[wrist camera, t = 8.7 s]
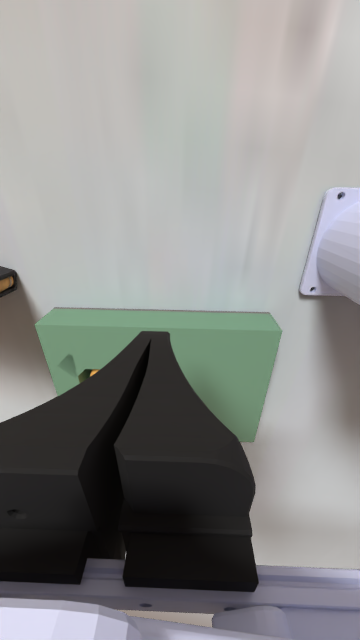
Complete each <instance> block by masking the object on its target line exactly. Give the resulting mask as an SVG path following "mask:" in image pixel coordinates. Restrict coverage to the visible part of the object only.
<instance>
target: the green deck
mask: <svg viewBox="0 0 360 640" xmlns="http://www.w3.org/2000/svg"><path fill="white" fill-rule="evenodd" d="M35 328H36V331H37V334H38V337H39V340H40V343H41V346H42V349H43V352H44V355H45V358H46V361H47V364H48V367H49V371H50V374H51V377H52V380H53V383H54V386H55V389H56V392H57V395H58V396H59V395H61V394H63V393H65V392H66V391H68V390H70V389H71V388H73V387H75V386H76V385H78V384H80V383H81V382H83V381H85V380H86V379H88V378H89V377H90V374H91V371H92V369H101V368H103V367H104V366H105V365H106V364H108V363H109V362H110V361H111V360H112V359H113V358H115V357H116V356H117V355H118V354H119V353H120V352H121V351H122V350H123V349H124V348H125V347H126V346H127V345H128V344H129V343H130V342H131V341H132V340H133V339H134V338H135V337H136V336H137V335H138V334H139V333H140V332H141V331H166V332H169V333H170V342H171V346H172V349H173V352H174V355H175V357H176V360H177V362H178V364H179V366H180V368H181V370H182V372H183V374H184V376H185V377H186V379H187V381H188V382H189V384H190V385H191V387H192V388H193V390H194V391H195V392H196V394H197V395H198V396H199V397H200V399H201V400H202V401H203V402H204V404H205V405H206V406H207V407H208V409H209V410H210V411H211V412H212V413H213V414H214V415H215V416H216V417H217V418H218V419H219V420H220V421H221V422H222V423H223V424H224V425H225V426H226V427H227V428H228V429H229V430H230V431H231V432H232V433H233V434H235V435H236V436H237V438H238V440H239V442H254V440H255V436H256V432H257V428H258V424H259V420H260V416H261V412H262V408H263V404H264V400H265V397H266V393H267V389H268V385H269V381H270V377H271V373H272V369H273V365H274V361H275V357H276V353H277V349H278V346H279V342H280V338H281V334H282V330H281V328H280V327H279V326H278V324H277V323H276V321H275V320H274V318H273V317H272V315H271V314H270V313H269V312H227V311H184V310H142V309H99V308H57V307H55V308H54V309H53V310H51V311H50V312H49V313H48V314H47V315H45V316H44V317H43V318H42V319H41V320H39V321H38V322H37V323H36V324H35Z"/></svg>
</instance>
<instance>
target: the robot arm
mask: <svg viewBox="0 0 360 640" xmlns="http://www.w3.org/2000/svg"><path fill="white" fill-rule="evenodd" d="M340 192H341V193H342V197H341V198H340V199H339V200H338V198H337V196H338V194H339V193H340ZM312 287H314V289H313V290H312V291H310V289H311V288H312ZM299 291H300V292H301V293H302V294H303V295H323V296H346V297H347V298H349V299H351V300H352V301H354V302H355V303H357V304H358V305H360V188H331V189H329V190H328V191H327V192H326V193H325V195H324V199H323V202H322V206H321V210H320V214H319V217H318V221H317V225H316V229H315V232H314V236H313V240H312V243H311V247H310V251H309V255H308V258H307V262H306V266H305V270H304V273H303V277H302V281H301V284H300V288H299ZM255 486H256V485H255V481H254V477H253V474H252V471H251V468H250V465H249V462H248V460H247V457H246V455H245V452H244V450H243V448H242V446H241V444H240V442H239V440H238V438H237V436H236V435H235V434H233V433H232V432H231V431H230V430H229V429H228V428H227V427H226V426H225V425H224V424H223V423H222V422H221V421H220V420H219V419H218V418H217V417H216V416H215V415H214V414H213V413H212V412H211V411H210V410H209V409H208V407H207V406H206V405H205V404H204V402H203V401H202V400H201V399H200V397H199V396H198V395H197V394H196V392H195V391H194V390H193V388H192V387H191V385H190V384H189V382H188V381H187V379H186V377H185V376H184V374H183V372H182V370H181V368H180V366H179V364H178V362H177V360H176V357H175V355H174V352H173V349H172V346H171V342H170V333H169V332H166V331H141V332H140V333H139V334H138V335H137V336H136V337H135V338H134V339H133V340H132V341H131V342H130V343H129V344H128V345H127V346H126V347H125V348H124V349H123V350H122V351H121V352H120V353H119V354H118V355H117V356H116V357H115V358H113V359H112V360H111V361H110V362H109V363H108V364H106V365H105V366H104V367H103V368H101V369H100V370H99V371H97V372H96V373H95V374H93V375H92V376H90V377H89V378H88V379H86V380H85V381H83V382H81V383H80V384H78V385H76V386H75V387H73V388H71V389H70V390H68V391H66V392H65V393H63V394H61V395H59V396H58V397H56V398H54V399H52V400H50V401H48V402H46V403H44V404H42V405H40V406H38V407H36V408H34V409H32V410H29V411H27V412H25V413H23V414H20V415H18V416H16V417H13V418H11V419H8V420H6V421H4V422H1V423H0V640H360V570H359V569H335V568H311V567H287V566H263V565H256V564H255V559H254V553H253V548H252V543H251V537H252V528H251V523H250V517H249V511H250V508H251V505H252V502H253V498H254V495H255ZM125 554H126V559H125ZM114 609H117V610H114ZM118 610H139V611H162V612H163V611H164V612H183V613H205V614H214V616H213V618H212V628H211V627H205V626H197V625H191V624H184V623H177V622H169V621H162V620H155V619H149V618H141V617H133V616H128V615H127V614H125V613H124V612H121V611H118Z"/></svg>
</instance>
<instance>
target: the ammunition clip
mask: <svg viewBox="0 0 360 640" xmlns="http://www.w3.org/2000/svg"><path fill="white" fill-rule="evenodd" d="M14 290H16V272H15V271H14V270H12V269H8V268H5V267H1V266H0V297H2V296H4V295H6V294H8V293H10V292H12V291H14Z"/></svg>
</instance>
